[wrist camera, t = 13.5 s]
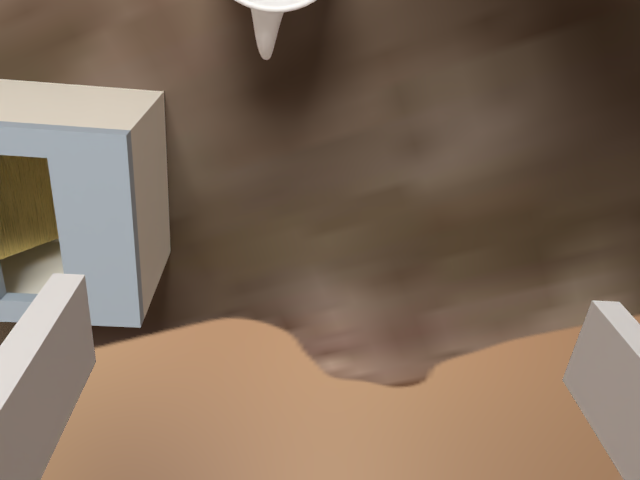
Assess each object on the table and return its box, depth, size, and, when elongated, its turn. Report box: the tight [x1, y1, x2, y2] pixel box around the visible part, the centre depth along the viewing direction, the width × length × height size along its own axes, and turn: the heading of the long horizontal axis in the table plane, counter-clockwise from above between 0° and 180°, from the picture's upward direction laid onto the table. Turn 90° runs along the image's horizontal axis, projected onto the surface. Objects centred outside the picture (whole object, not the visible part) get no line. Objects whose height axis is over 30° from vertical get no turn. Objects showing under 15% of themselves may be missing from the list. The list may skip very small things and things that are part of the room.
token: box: [0, 155, 59, 259], centre depth 41 cm, size 8×2×8 cm
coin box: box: [0, 79, 171, 328], centre depth 41 cm, size 14×14×11 cm
